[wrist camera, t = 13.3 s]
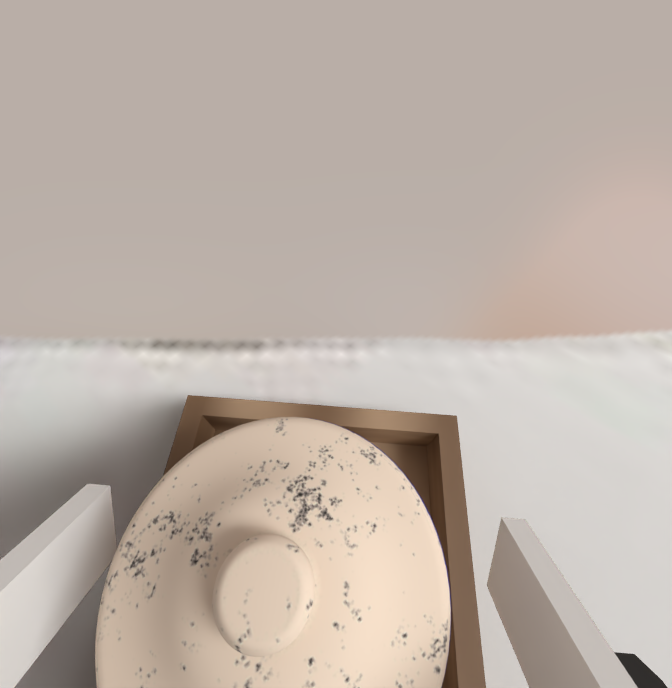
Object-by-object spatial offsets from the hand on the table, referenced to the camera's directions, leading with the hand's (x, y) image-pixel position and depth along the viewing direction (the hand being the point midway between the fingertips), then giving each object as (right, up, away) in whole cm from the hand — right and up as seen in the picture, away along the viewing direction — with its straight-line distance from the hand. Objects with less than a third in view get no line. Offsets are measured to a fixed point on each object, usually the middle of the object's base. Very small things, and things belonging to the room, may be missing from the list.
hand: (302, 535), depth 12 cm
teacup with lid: (0, -6, +5) cm, 7 cm away
